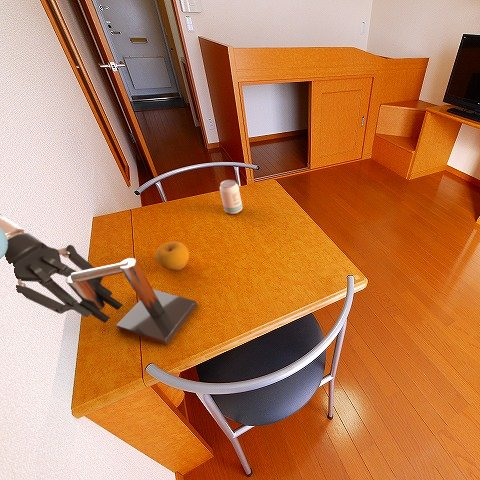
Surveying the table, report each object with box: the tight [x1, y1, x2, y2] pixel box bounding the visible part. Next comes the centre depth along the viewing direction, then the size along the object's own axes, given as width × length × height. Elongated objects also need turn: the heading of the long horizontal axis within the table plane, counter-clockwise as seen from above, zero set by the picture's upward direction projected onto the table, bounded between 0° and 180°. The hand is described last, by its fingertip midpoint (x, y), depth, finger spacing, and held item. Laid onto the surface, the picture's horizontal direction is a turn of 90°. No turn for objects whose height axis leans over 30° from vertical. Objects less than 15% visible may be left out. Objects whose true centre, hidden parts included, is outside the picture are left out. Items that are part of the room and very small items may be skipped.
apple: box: [154, 241, 190, 271], centre depth 82 cm, size 9×9×9 cm
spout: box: [65, 257, 164, 317], centre depth 63 cm, size 13×3×18 cm, turn 111°
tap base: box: [115, 288, 198, 346], centre depth 71 cm, size 14×12×2 cm
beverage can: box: [219, 179, 243, 215], centre depth 105 cm, size 7×7×12 cm
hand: (114, 313), depth 63 cm, fingers closed on spout, 3 cm apart
